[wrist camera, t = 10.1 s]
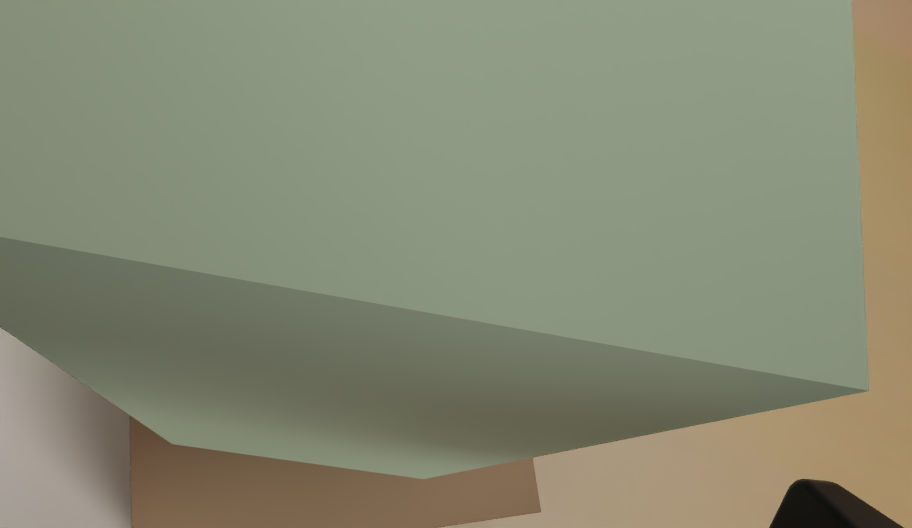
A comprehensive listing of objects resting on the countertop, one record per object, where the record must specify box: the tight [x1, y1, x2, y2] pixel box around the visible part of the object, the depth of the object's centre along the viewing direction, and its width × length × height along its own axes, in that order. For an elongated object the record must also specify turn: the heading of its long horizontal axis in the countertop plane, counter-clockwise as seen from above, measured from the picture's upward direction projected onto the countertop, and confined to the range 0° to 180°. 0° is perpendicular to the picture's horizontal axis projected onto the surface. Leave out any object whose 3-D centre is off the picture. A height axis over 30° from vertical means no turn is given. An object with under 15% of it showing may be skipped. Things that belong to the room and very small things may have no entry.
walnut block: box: [130, 416, 541, 528], centre depth 19 cm, size 8×8×4 cm
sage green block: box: [0, 0, 869, 479], centre depth 11 cm, size 5×5×13 cm
